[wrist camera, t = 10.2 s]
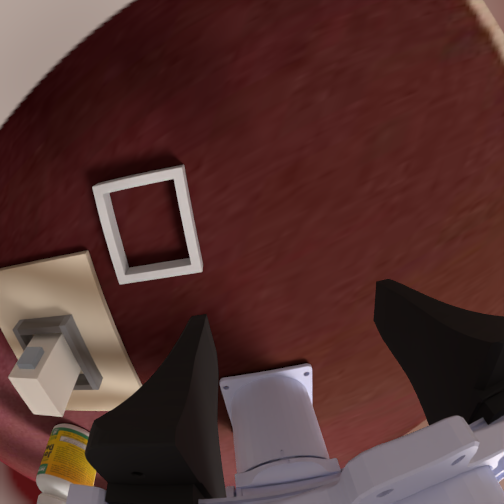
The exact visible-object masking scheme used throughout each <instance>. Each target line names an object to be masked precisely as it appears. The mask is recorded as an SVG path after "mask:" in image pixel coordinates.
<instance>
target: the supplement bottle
mask: <svg viewBox="0 0 504 504" xmlns="http://www.w3.org/2000/svg"><path fill="white" fill-rule="evenodd" d="M89 434H90V432H88V431H87V430H85V429H83V428H81V427H78V426H75V425H72V424H66V423H63V424H58V425H56V426H54V428H53V430H52V432H51V435H50V438H49V441H48V444H47V447H46V450H45V452H44V455H43V458H42V461H41V464H40V467H39V471H38V474H37V478H36V483H37V485H38V487H39V489H40V490H41V491H42V492H43V493H42V494H40V495H39V496H38V501H37V504H66V500H67V496H68V491H69V487H70V484H79V485H86V486H94V481H95V476H96V470H95V469H94V468H93V467H92V466H91V465H90V463H89V462H88V461H87V460H86V457H85V450H86V446H87V442H88V438H89Z"/></svg>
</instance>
